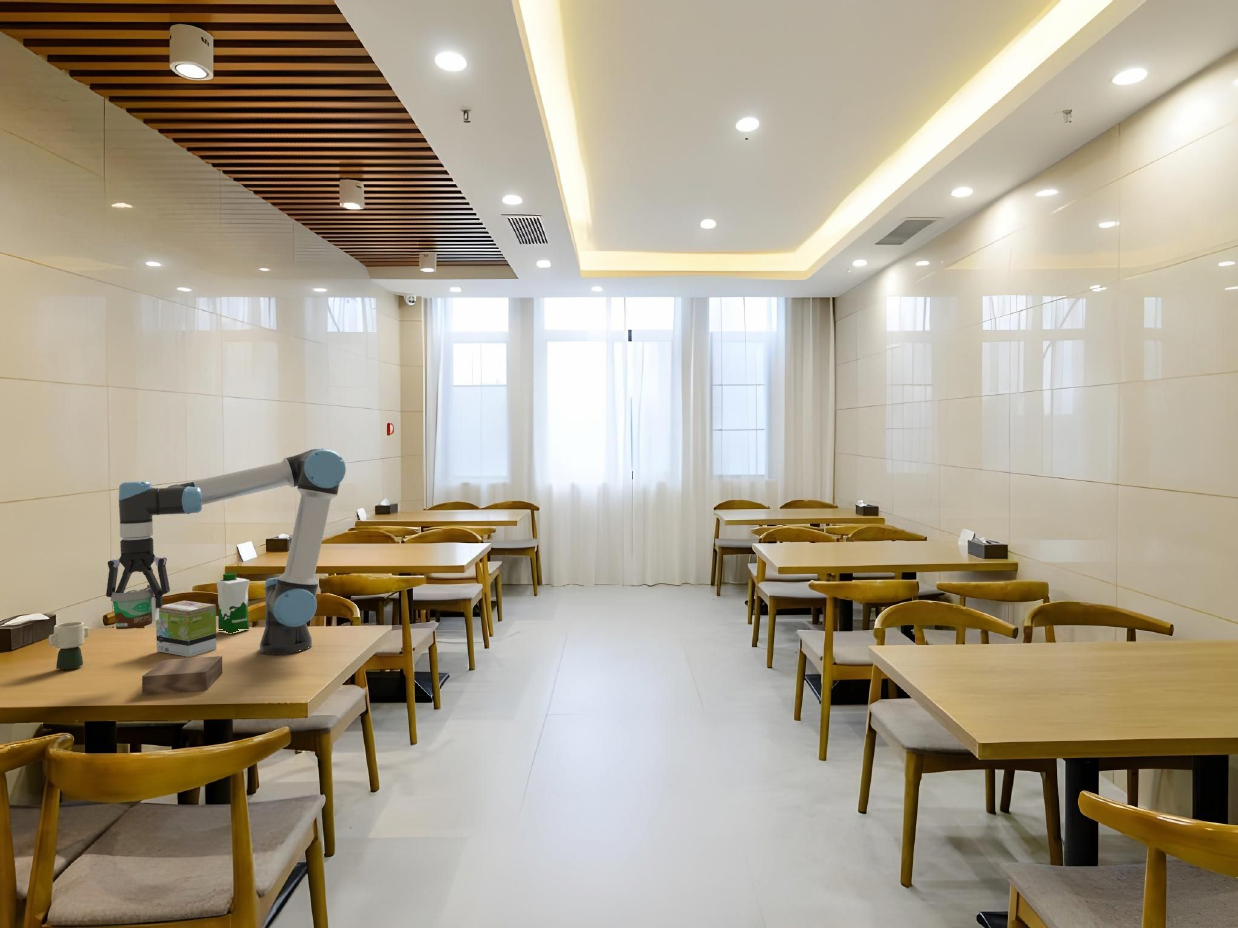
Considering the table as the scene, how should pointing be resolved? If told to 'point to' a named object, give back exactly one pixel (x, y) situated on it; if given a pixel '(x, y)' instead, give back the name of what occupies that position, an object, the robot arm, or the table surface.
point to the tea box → (186, 628)
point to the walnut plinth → (182, 675)
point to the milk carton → (232, 603)
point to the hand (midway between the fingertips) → (139, 620)
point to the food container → (133, 608)
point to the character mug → (69, 643)
